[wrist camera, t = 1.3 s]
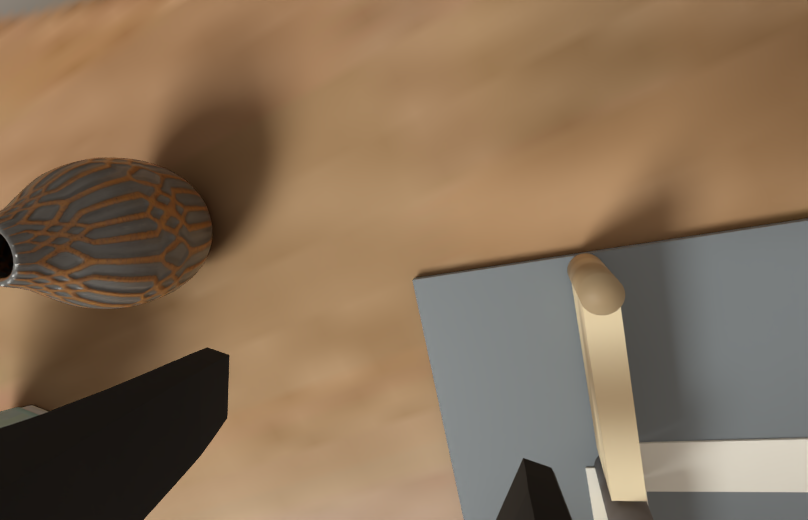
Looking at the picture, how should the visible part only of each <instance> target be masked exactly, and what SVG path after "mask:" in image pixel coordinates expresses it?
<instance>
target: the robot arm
mask: <svg viewBox="0 0 808 520" xmlns="http://www.w3.org/2000/svg"><path fill="white" fill-rule="evenodd" d="M228 380H229V355H228V354H225V353H222V352H219V351H216V350H213V349H210V348H205V349H202V350H200V351H197V352H195V353H192V354H190V355H187V356H185V357H183V358H180V359H178V360H176V361H173V362H171V363H169V364H166V365H164V366H162V367H159V368H157V369H155V370H152V371H150V372H148V373H145V374H143V375H140V376H138V377H136V378H133V379H131V380H128V381H126V382H124V383H121V384H119V385H116V386H114V387H112V388H109V389H107V390H104V391H102V392H99V393H96V394H94V395H91V396H89V397H86V398H83V399H81V400H78V401H75V402H73V403H70V404H67V405H65V406H62V407H60V408H57V409H54V410H52V411H49V412H46V413H44V414H41V415H38V416H35V417H32V418H29V419H26V420H23V421H20V422H17V423H14V424H11V425H8V426H5V427H2V428H0V520H144V519H145V517H146V516H147V515H148V514H149V513H150V512H151V511H152V510H153V509H154V507H155V506H156V505H157V504H158V503H159V502H160V501H161V500H162V499H163V497H164V496H165V495H166V494H167V493H168V492H169V491H170V490H171V489H172V487H173V486H174V485H175V484H176V483H177V482H178V481H179V480H180V478H181V477H182V476H183V475H184V474H185V473H186V472H187V471H188V469H189V468H190V467H191V466H192V465H193V464H194V463H195V461H196V460H197V459H198V458H199V457H200V456H201V454H202V453H203V452H204V450H205V449H206V447H207V446H208V445H209V443H210V442H211V441H212V439H213V438H214V436H215V435H216V433H217V432H218V431H219V429H220V428H221V426H222V425H223V423H224V422H225V420H226V419H227V411H228ZM496 520H572V517H571V515H570V512H569V510H568V507H567V505H566V502H565V499H564V497H563V494H562V492H561V489H560V486H559V484H558V481H557V478H556V476H555V473H554V471H553V470H552V468H551V467H548V466H545V465H542V464H540V463H537V462H534V461H531V460H528V459H525V458H523V459H522V462H521V464H520V466H519V469H518V471H517V473H516V475H515V478H514V480H513V482H512V484H511V487H510V489H509V491H508V493H507V496H506V498H505V500H504V502H503V505H502V507H501V509H500V512H499V514H498V516H497V518H496Z"/></svg>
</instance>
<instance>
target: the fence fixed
mask: <svg viewBox="0 0 808 520" xmlns="http://www.w3.org/2000/svg"><path fill="white" fill-rule="evenodd" d="M594 466H595V471H596V474H597V478H598V482H599V486H600V490H601V494H602V498H603V502H604V506H605V510H606V514H607V518H608V520H654V519H653V517H652V514H651V512H650V509H649V506H648V504H647V501H612V500H611V496H610V493H609V489H608V486H607V482H606V478H605V475H604V471H603V468H602V464H601V461H600V457H599V456H598V457H597V458H596V460H595V464H594Z"/></svg>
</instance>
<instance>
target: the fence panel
mask: <svg viewBox="0 0 808 520" xmlns="http://www.w3.org/2000/svg"><path fill="white" fill-rule="evenodd" d="M567 273H568V276H569V278H570V281H571V283H572V289H573V296H574V302H575V309H576V315H577V322H578V328H579V335H580V341H581V348H582V354H583V361H584V367H585V374H586V380H587V387H588V393H589V400H590V406H591V413H592V419H593V426H594V432H595V439H596V445H597V450H598V453H599V457H600V461H601V464H602V468H603V471H604V475H605V478H606V482H607V486H608V489H609V493H610V496H611V500H612V501H647V496H646V489H645V482H644V474H643V467H642V459H641V452H640V445H639V437H638V430H637V423H636V415H635V408H634V401H633V393H632V386H631V379H630V371H629V364H628V357H627V349H626V342H625V334H624V327H623V320H622V312H621V306H622V304H623V303H624V300H625V290H624V287H623V285H622V284H621V283H620V282H619V280H618V279H617V278H616V277H615V276H614V275H613V274H612V273H611V271H610V270H609V269H608V268H607V267H606V266H605V265H604V264H603V263H602V261H601V260H600V259H599V258H598V257H596V256H595V255H592V254H588V253H584V254H579V255H577V256H575V257H574V258H573V259H572V260H571V261H570V262H569V264H568V267H567Z"/></svg>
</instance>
